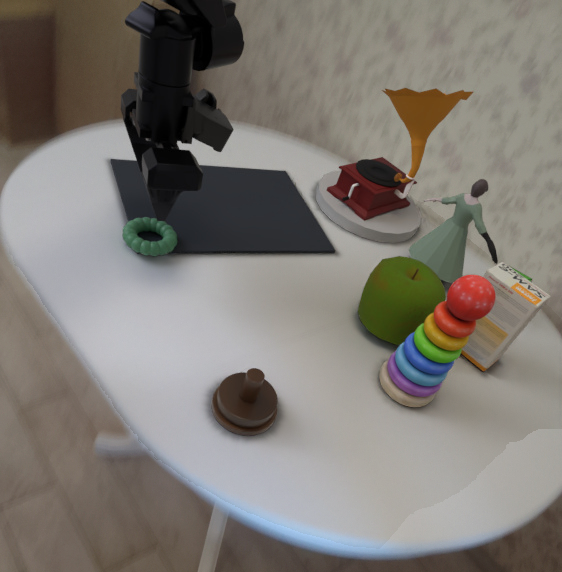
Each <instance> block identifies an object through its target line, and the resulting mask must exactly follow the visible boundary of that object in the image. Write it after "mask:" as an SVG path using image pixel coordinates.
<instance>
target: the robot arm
mask: <svg viewBox="0 0 562 572" xmlns="http://www.w3.org/2000/svg"><path fill="white" fill-rule="evenodd" d="M160 1H161V2H163V3H165V4H166V5H168V6H169V7H172V8H174V9H176V10H177V11H179V12H176V10H173V9H170V8H158V7H156V6H154V5H152V4H151V3H148V2H147V1H144V0H141V1H140V3H139V5H138V6H137V8H135V9H134V10H132V11H131V12H130V13H128V15H127V16H126V17H125V19H124V24H125V25H126V26H127V27H128V28H130V29H131V30H133V31H135V32H137V33H139V52H138V69H137V71H134V72H133V82H134V83H133V84H134V85H135V88H127V89H126V90H125V91H124V92H123V93H122V94H120V111H121V115H122V121H123V124H124V126H125V130H126V133H127V136H128V138H129V142H130V145H131V148H132V151H133V154H134V157H135V159H136V160H135V161H137V163H138V166H139V169H140V172H141V175H142V178H143V180H144V182H145V185H146V188H147V191H148V194H149V197H150V201H151V204H152V207H153V210H154V213H155V216H156V219H157V221H166V219H167V217H168V215H169V213H170V211H171V209H172V207H173V205H174V203H175V201H176V200H177V198H178V196H179V195H180V193H181V192H183V191H198V190H200V189H201V185H202V179H203V172H202V170H201V168H200V166H199V165H200V164H199V162H198V159H197V157H195V155H194V154H193V153H192V152H191V150H189V149H180V147H179V144H178V142H180V143H181V144H184V145H185V144H186V145H192V143H193V139H194V140H195V141H198V142H199V143H202V144H204V145H206V146H208V147H211V148H212V149H213V151H215V152H217V153H222V152H223V150H224V148H225V146H226V145H227V142H228V140H229V139H230V137H231V136H232V133H233V132H234V127H233V126H232V124H231V122H230V120H229V118H228V117H227V115H226V114H224V113H223V111H222V109H221V108H218V106H217V105H218V99H217V98H216V96H215V95H214V93H213V92H211V91H210V90H208V89H206V88H202V89H201V90H200V91H198V92H197V93H195V94H193V93H192V91H191V83H192V75H193V74H192V73H193V71H196V72H204V71H208V70H213V69H217V68H222V67H226V66H230V65H233V64H236V63H237V62H238V61H239V60H240V59H241V56H242V54H243V51H244V50H245V40H244V33H243V28H242V26H241V22H240V21H239V19H238V17H237V16H236V10H237V9H236V8H237V4H236V2H235V1H232V0H160Z"/></svg>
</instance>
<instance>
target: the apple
mask: <svg viewBox="0 0 562 572" xmlns="http://www.w3.org/2000/svg"><path fill="white" fill-rule="evenodd" d="M443 301H447V293H446V288H445V286H444V284H443V282H442V280H441V279H439V277H438V276H437V274H436V273H435V272H434V271H433V270H432V269H431V268H430V267H428V266H427V265H425V264H424V263H422V262H421V261H419V260H416V259H413V258H411V256H402V255H398V256H392V257H387V258H382V259H381V260H380V261H379V263H378V264H377V265H376V266H375V267H374V268H373V270H372V271H371V272H370V273H369V276H368V278H367V280H366V282H365V283H364V286H363V289H362V292H361V295H360V299H359V303H358V307H357V313H358V317H359V319H360V322H361V323H362V325H363V326H364V327H365V328H366V329H367V331H368V332H369V333H371V334H372V335H373V336H375V337H376V338H378V339H379V340H383V341H385V342H387V343H390V344H394V345H396V346H397V345H398V346H400V345H401V344H402V343H403V342H405V340H406V338H407V337H408V336H409V335H410V334H411V333H413V332H415V330H416V329H417V328H418V326H420V325H421V324H423V323H424V322H425V319H426V318H427V317H428V316H429V315H430V314H431V313H434V310H435V308H436V306H437V305H438V304H439V303H441V302H443Z"/></svg>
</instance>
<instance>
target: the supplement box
mask: <svg viewBox="0 0 562 572" xmlns="http://www.w3.org/2000/svg"><path fill="white" fill-rule="evenodd" d="M509 266H510V265H508V264H506V263H505V262H504V261H501V262H498V263H497V264H495V265H494V266H492V267H490V268H488V269H487V270H486V271H485V273H484V275H483V276H482V277H484V278H485V279H487V280H488V281H489V282H490V283H491V284H492V286H493V288H494V290H495V296H496V298H495V303H494V306H493V308H492V309H491V311H490V312H489V313H488V314H487V315H486V316H484V317H483V318H481V319H478V320H476V328H475V330H474V332H473V333H472V334H470V335H469V339H468V342H467V344H466V345H465V346H464V347H463V348H462V351H461V354H460V355H462V356H463V357H465V358H466V359H467V360H469V361H470V362H471V363H472V364H473V365H475V366H476V367H477V368H478V369H480V371H482V372H486V371H487V370H488V369H489V368H490V367H492V366H493V365H494V364H495V363H496V362H498V360H500V359H501V357H502V356H503V354H505V352H506V351H507V350H508V349H509V347H510V346H511V345H512V344H513V343H514V341H515V340H516V339H517V338H518V336H520V334H521V333H522V332H523V331H524V330H525V328H526V327H528V325H529V324H530V322H531V321H532V320H533V318H535V316H536V315H537V314H538V313H539V312H540V311H541V309H542V308H543V307H544V306H545V304H546V303H547V302H548V301H549V299H550V298H551V297H552V296H551V295H550V294H548V293H547V292H546V291H545V290H543V289H542V288H541V287H539V286H537V285H536V284H535V283H533V281H532V282H530V281H529V280H527V279H526V278H525V277H523V276H522V275H520V274H519V273H517V272H516V271H515V270H513V269H512V268H513V267H512V266H510V267H509ZM511 267H512V268H511Z"/></svg>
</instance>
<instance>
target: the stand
mask: <svg viewBox="0 0 562 572" xmlns="http://www.w3.org/2000/svg"><path fill="white" fill-rule="evenodd" d="M265 378H266V376H265V372H264V371H263V370H261V369H260V368H258V367H257V368H256V367H251V368H248V369H247V370H246V372H245V371H244V372H236V373H232V374H230V375H228V376H226V377H225V378H224V379H223V380H222V381H221V382H220V384H219V385H218V387H216V389H215V390H214V391H213V392H214V393H213V395H212V399H211V405H210V406H211V411H212V415H213V417H214V418H215V420H216V421H217V422H218V424H220V426H222V427H223V428H224V429H225V430H227V431H229V432H231V433H234V434H236V435H241V436H256V435H260V434H263V433H265V432H266V431H268V430H269V429H270V428H271V427H272V425H274V422H275V420H276V418H277V416H278V401H279V400H278V399H279V398H278V393H277V392H276V390H275V388H274V386H273V385H272V384H271V383H270V382H269V381H268V380H266V379H265Z"/></svg>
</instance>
